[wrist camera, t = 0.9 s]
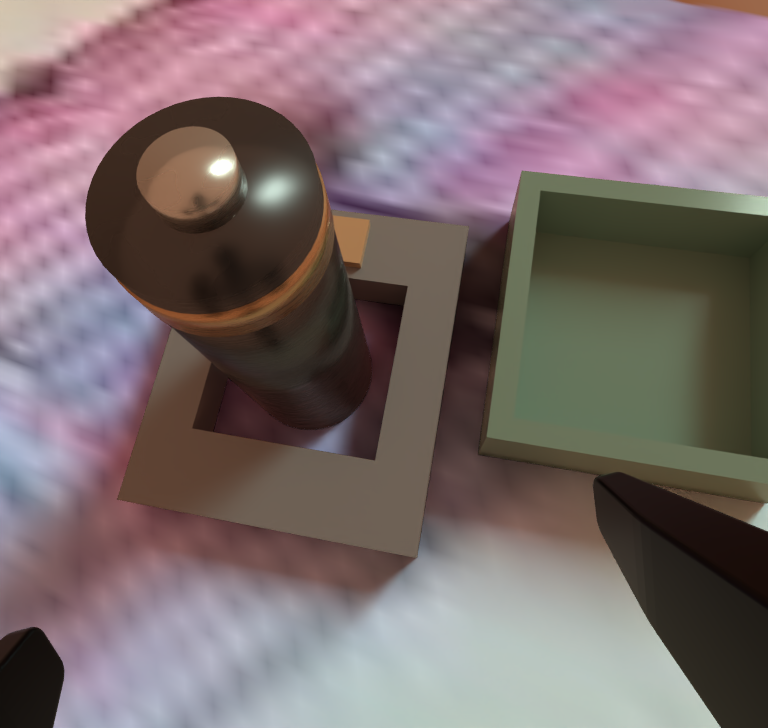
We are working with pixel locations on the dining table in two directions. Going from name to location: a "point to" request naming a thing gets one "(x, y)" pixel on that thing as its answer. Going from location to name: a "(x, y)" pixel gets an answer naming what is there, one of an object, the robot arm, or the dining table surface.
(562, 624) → the dining table surface
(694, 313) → the cup
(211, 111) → the battery cell
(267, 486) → the tester cradle
